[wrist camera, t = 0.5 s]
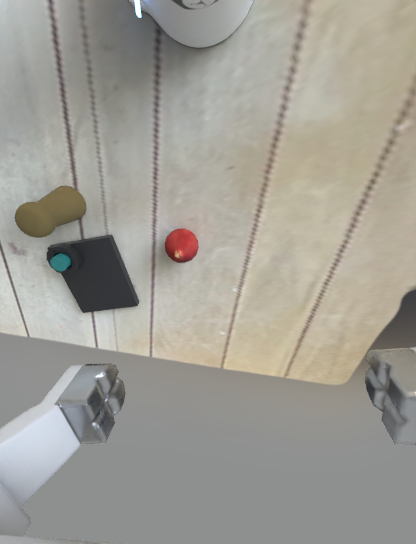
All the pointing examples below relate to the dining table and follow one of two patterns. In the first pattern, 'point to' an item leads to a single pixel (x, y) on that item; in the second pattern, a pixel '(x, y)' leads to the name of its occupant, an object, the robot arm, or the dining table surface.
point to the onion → (181, 245)
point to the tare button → (60, 262)
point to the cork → (50, 212)
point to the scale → (96, 274)
